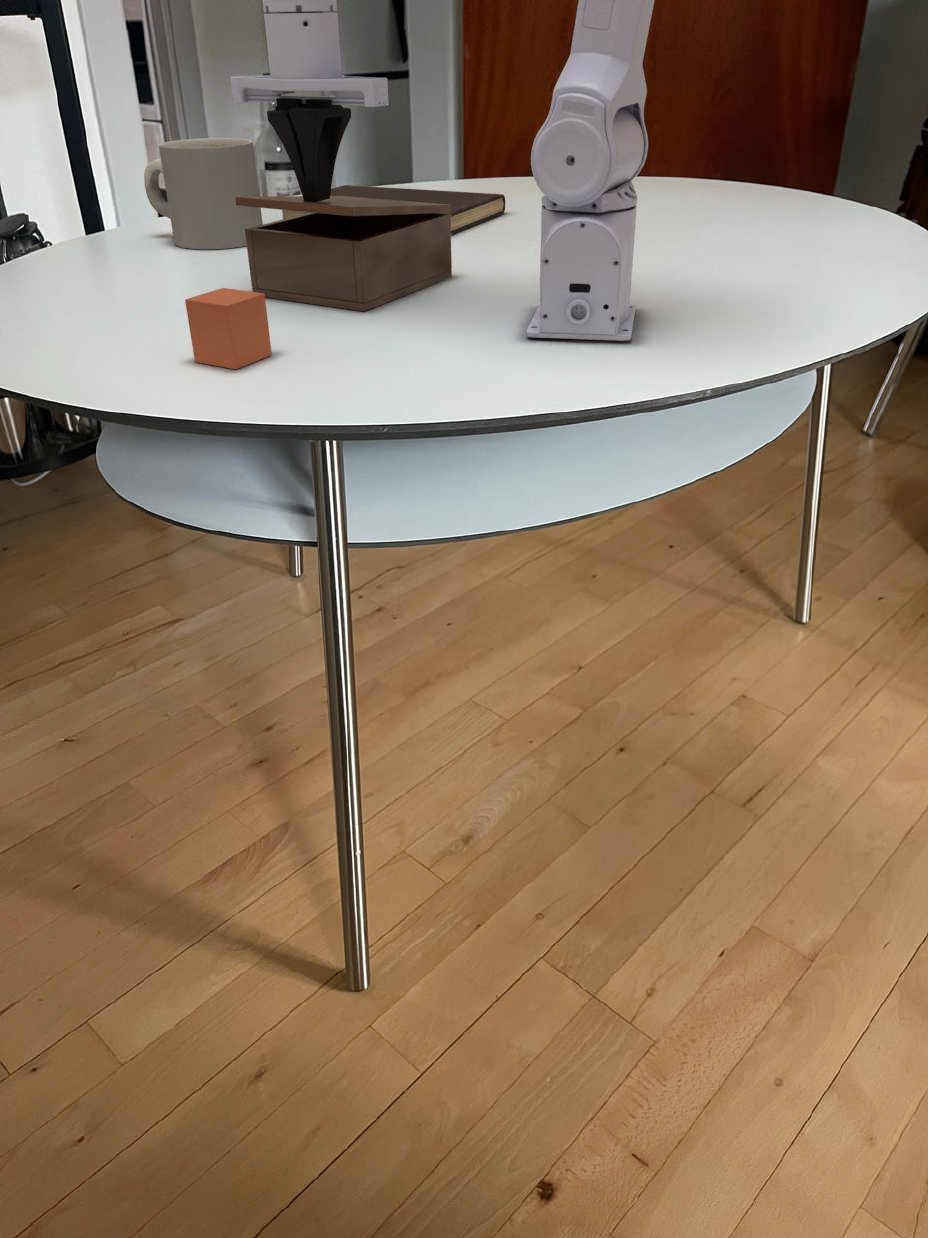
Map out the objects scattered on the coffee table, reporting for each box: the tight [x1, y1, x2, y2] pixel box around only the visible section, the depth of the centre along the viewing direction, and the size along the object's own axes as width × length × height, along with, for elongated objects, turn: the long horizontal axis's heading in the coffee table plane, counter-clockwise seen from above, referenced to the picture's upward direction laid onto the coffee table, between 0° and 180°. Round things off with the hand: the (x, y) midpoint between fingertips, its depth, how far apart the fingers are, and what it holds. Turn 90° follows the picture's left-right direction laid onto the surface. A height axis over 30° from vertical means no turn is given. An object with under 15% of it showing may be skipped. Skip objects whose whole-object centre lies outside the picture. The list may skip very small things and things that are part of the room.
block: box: [184, 287, 273, 370], centre depth 72 cm, size 4×4×4 cm
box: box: [245, 212, 453, 312], centre depth 90 cm, size 14×12×6 cm
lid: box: [236, 195, 451, 216], centre depth 88 cm, size 15×12×1 cm
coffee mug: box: [143, 137, 264, 250], centre depth 110 cm, size 13×10×10 cm
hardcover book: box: [281, 184, 506, 236], centre depth 121 cm, size 16×23×2 cm
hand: (316, 199), depth 84 cm, fingers closed
